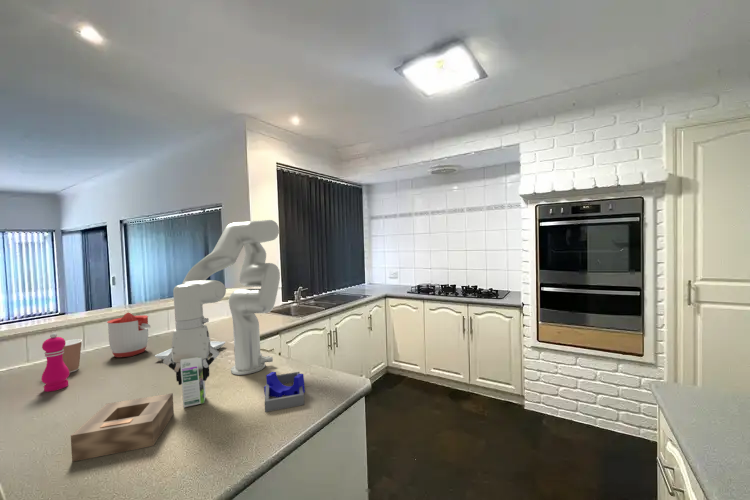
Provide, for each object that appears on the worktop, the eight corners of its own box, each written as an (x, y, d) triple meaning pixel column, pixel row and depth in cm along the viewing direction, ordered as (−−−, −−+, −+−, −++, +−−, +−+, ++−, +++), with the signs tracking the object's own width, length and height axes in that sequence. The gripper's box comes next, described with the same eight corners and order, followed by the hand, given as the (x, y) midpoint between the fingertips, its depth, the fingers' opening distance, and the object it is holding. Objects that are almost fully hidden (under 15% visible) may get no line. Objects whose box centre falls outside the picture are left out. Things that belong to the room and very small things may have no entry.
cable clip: (264, 396, 102) (263, 377, 101) (273, 389, 106) (272, 371, 106) (297, 399, 98) (295, 379, 98) (304, 392, 102) (303, 373, 102)
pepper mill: (38, 394, 111) (34, 337, 111) (47, 386, 117) (44, 332, 117) (65, 389, 114) (62, 333, 114) (73, 382, 121) (70, 329, 120)
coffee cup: (44, 374, 130) (42, 345, 130) (75, 365, 139) (74, 338, 139) (58, 377, 126) (56, 347, 126) (89, 368, 136) (87, 340, 135)
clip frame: (299, 380, 112) (299, 371, 112) (304, 404, 94) (303, 394, 94) (267, 385, 109) (266, 376, 109) (265, 412, 91) (264, 401, 91)
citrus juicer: (137, 358, 145) (135, 315, 145) (99, 360, 145) (97, 316, 145) (160, 347, 161) (158, 308, 161) (127, 349, 161) (124, 309, 161)
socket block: (173, 413, 93) (172, 392, 93) (153, 445, 77) (152, 420, 77) (107, 425, 88) (106, 402, 88) (72, 461, 73) (70, 434, 73)
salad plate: (188, 347, 160) (187, 340, 160) (227, 347, 157) (226, 340, 157) (153, 363, 139) (152, 355, 139) (197, 363, 136) (196, 355, 136)
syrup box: (182, 408, 95) (179, 360, 95) (185, 399, 101) (182, 354, 100) (204, 403, 98) (201, 356, 97) (206, 395, 103) (203, 351, 103)
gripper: (222, 317, 105) (225, 372, 105) (161, 324, 100) (165, 381, 100) (218, 323, 97) (222, 381, 98) (153, 330, 92) (157, 391, 93)
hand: (193, 380), depth 99 cm, fingers closed on syrup box, 6 cm apart
